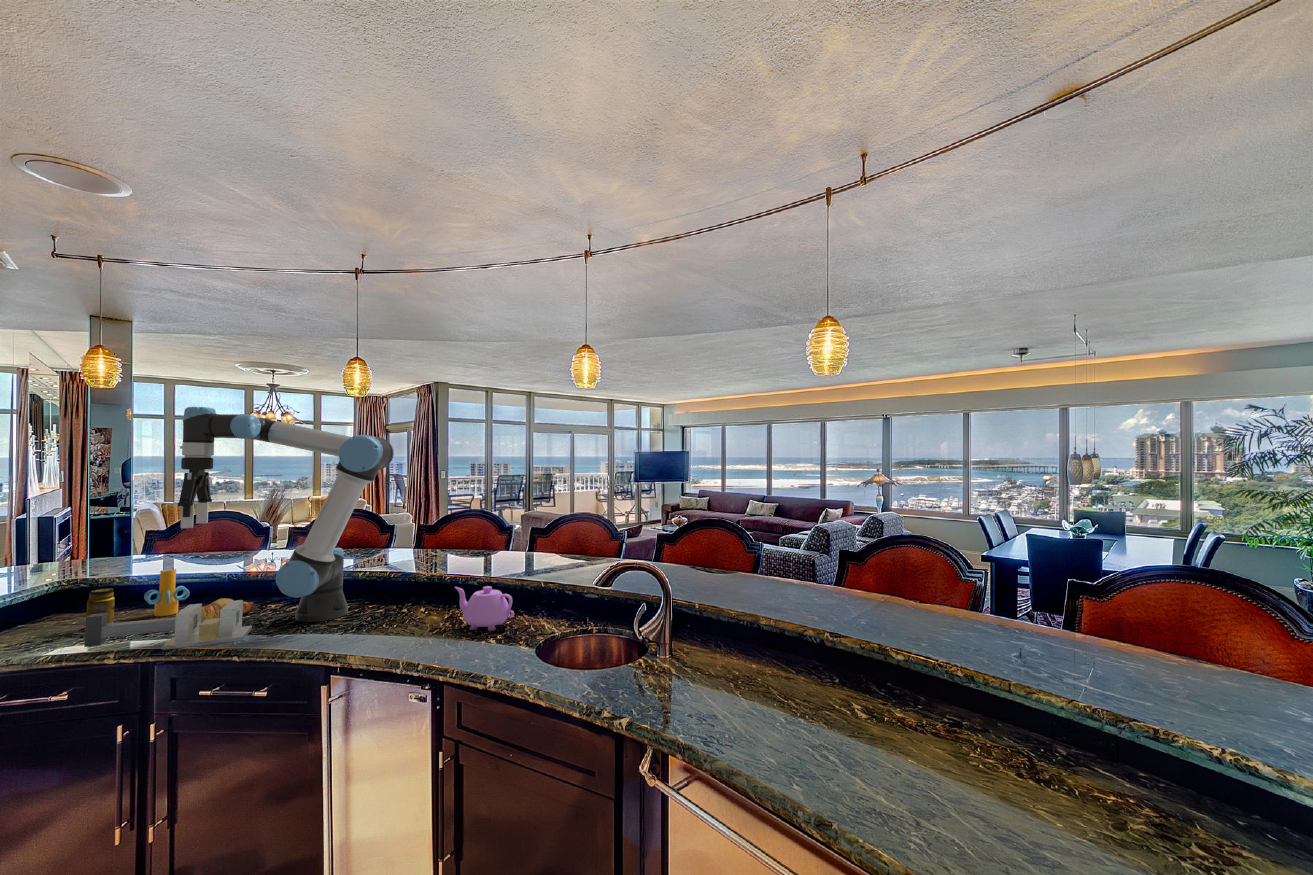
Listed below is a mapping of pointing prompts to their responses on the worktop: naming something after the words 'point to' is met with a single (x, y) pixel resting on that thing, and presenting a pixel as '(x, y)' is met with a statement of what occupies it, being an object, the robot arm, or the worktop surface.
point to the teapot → (485, 608)
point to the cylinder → (166, 594)
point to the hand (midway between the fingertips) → (194, 525)
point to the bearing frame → (189, 634)
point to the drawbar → (123, 628)
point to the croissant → (215, 607)
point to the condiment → (100, 605)
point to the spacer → (209, 628)
